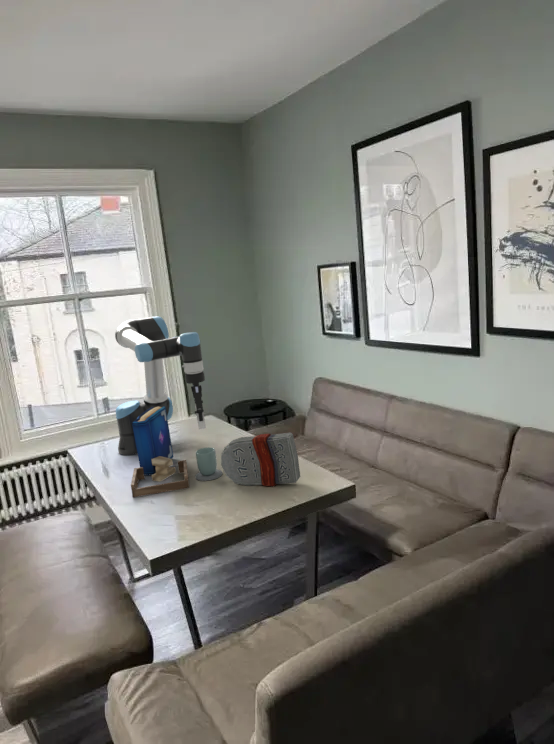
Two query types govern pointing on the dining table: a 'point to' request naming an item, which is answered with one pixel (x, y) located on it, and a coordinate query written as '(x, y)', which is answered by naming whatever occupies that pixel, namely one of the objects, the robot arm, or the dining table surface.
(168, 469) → the offcut low
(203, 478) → the mat
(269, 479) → the decorative stone tablet
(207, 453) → the cup
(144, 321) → the robot arm
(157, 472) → the offcut mid
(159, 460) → the offcut top
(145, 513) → the dining table surface
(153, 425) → the book
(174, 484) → the wooden tray
